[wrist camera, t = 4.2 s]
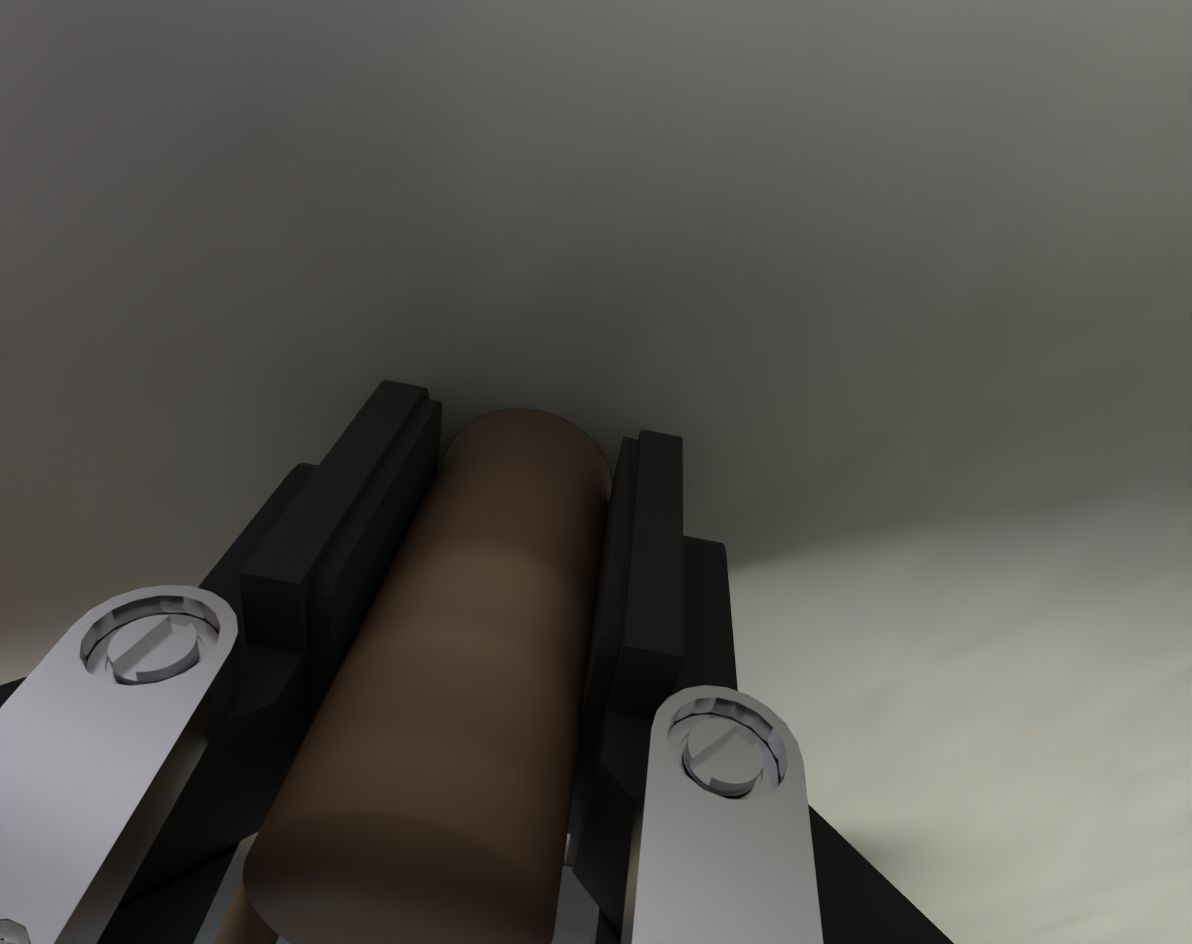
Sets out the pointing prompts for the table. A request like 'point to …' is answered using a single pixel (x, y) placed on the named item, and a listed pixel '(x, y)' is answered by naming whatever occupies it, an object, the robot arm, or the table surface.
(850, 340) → the table surface
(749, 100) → the table surface
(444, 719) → the knob-handled block
